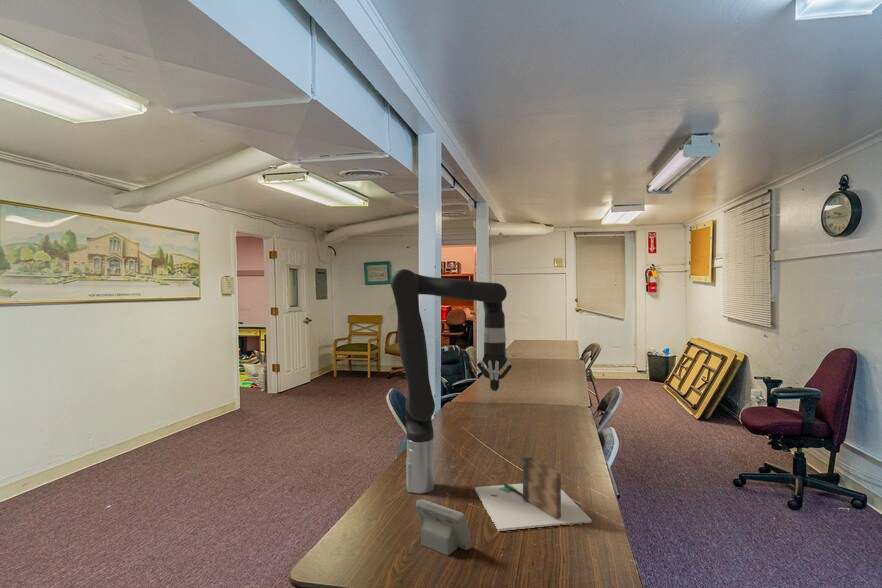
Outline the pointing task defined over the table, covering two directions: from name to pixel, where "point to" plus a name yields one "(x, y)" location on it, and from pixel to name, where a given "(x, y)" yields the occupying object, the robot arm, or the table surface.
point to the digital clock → (442, 528)
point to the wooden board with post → (541, 487)
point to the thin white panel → (524, 509)
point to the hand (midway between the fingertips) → (494, 390)
